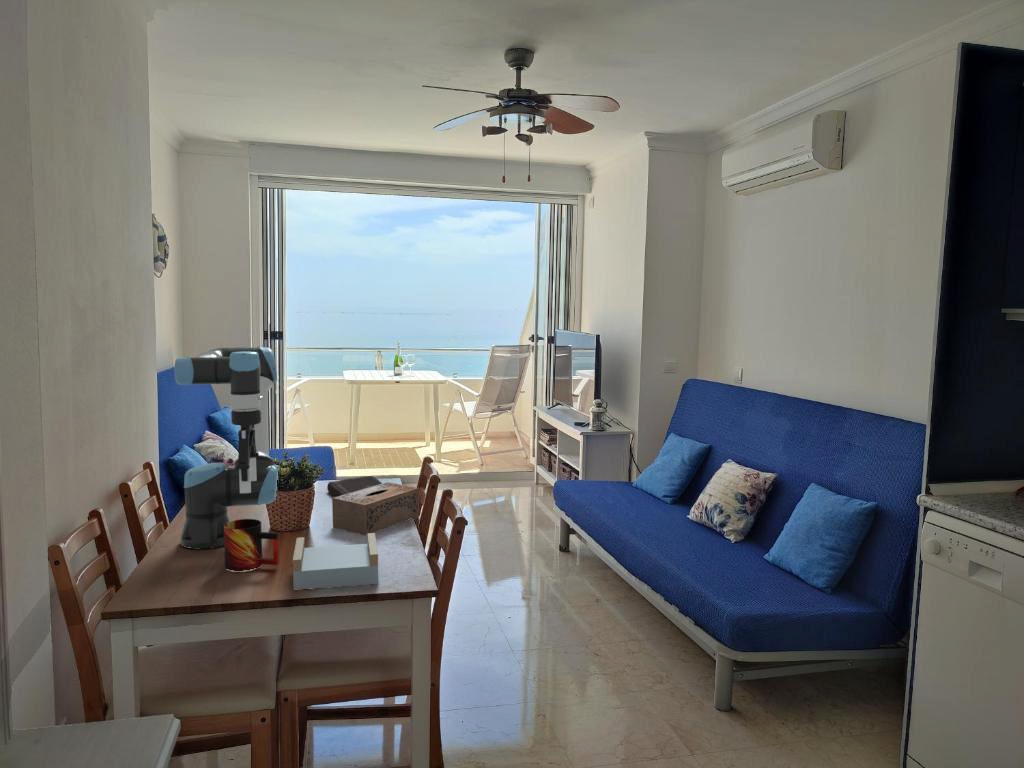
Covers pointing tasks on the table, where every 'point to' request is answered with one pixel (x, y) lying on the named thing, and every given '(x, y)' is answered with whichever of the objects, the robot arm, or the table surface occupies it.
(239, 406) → the robot arm
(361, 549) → the notched stand
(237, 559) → the mug
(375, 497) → the tissue box cover
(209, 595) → the table surface
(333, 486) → the diary
